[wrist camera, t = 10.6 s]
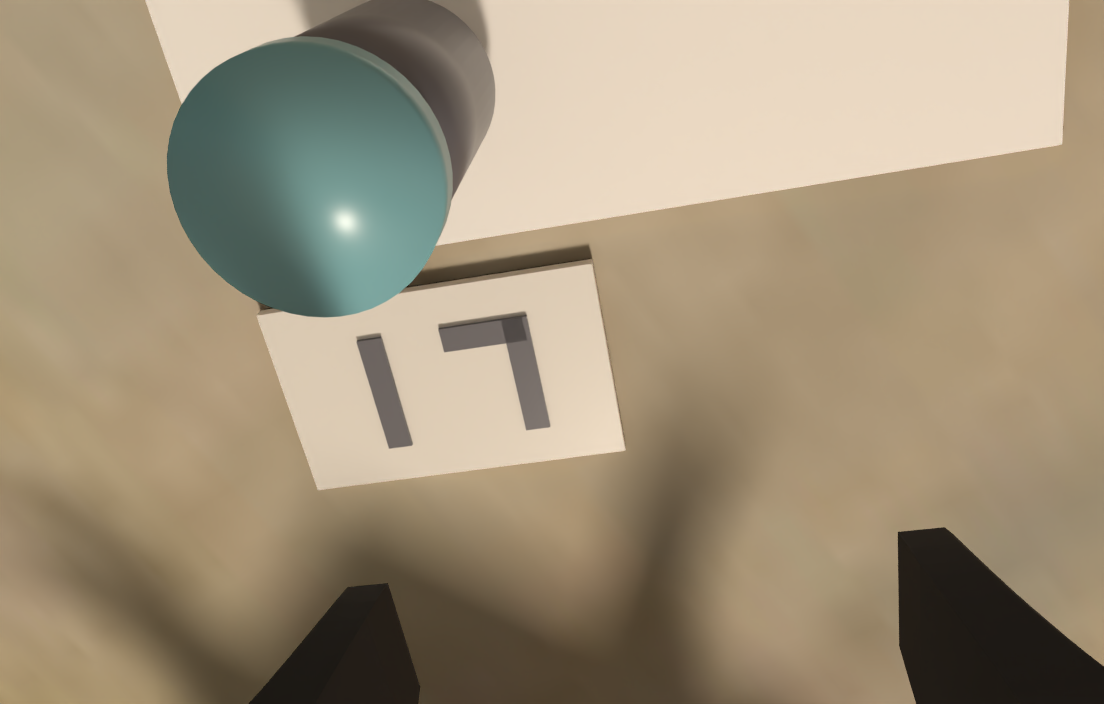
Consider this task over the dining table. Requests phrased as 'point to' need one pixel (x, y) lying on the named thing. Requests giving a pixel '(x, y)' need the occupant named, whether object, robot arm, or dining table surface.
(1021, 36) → the paper
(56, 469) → the dining table surface
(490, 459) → the word card
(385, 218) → the marker
